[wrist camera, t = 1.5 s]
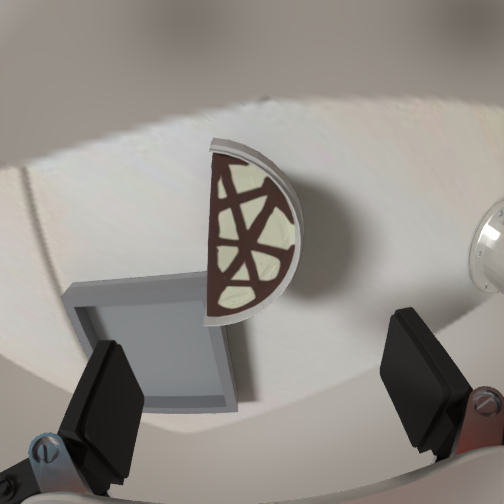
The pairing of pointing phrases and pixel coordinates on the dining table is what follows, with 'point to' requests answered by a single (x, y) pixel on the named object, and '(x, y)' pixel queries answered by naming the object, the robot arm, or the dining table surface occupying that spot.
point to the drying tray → (160, 339)
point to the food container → (249, 234)
